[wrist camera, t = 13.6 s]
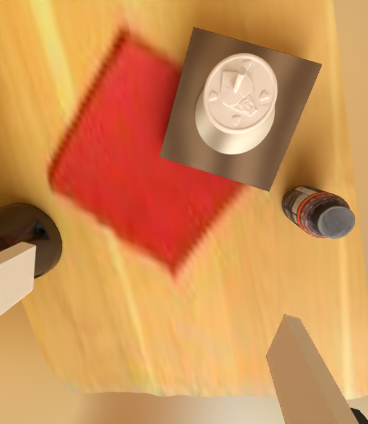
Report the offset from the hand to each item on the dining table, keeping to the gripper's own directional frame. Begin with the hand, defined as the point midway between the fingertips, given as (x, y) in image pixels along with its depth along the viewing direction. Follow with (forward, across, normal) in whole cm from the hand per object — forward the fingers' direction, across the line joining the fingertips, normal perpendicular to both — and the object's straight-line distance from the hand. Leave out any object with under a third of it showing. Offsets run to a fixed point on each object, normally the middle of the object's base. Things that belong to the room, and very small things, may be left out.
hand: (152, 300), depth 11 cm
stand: (+28, +3, +13) cm, 31 cm away
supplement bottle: (+28, +18, +4) cm, 33 cm away
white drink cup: (+22, +2, +13) cm, 25 cm away
